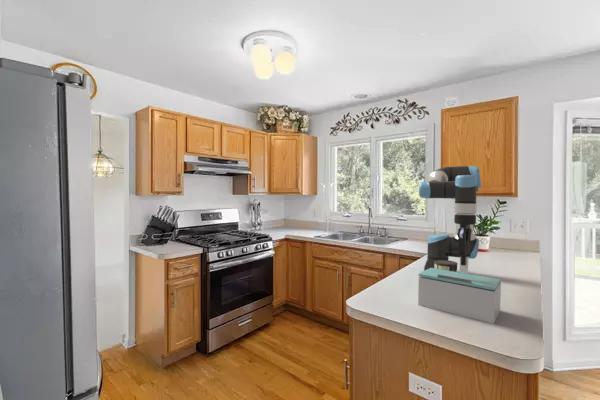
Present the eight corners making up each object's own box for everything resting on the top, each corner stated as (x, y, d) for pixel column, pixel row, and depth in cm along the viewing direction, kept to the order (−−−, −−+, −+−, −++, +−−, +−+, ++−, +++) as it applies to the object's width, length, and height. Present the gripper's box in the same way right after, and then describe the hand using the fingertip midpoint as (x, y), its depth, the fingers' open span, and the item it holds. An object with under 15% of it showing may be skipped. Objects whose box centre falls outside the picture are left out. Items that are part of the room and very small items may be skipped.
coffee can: (453, 287, 147) (453, 260, 147) (460, 294, 137) (460, 265, 137) (431, 286, 149) (431, 259, 149) (436, 293, 139) (437, 263, 139)
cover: (430, 269, 135) (430, 265, 135) (500, 281, 118) (500, 276, 118) (418, 276, 123) (418, 271, 123) (494, 290, 105) (494, 284, 105)
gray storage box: (430, 295, 136) (431, 270, 136) (500, 310, 118) (500, 282, 118) (418, 304, 124) (418, 277, 124) (493, 323, 106) (494, 291, 106)
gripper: (458, 212, 123) (457, 268, 124) (450, 214, 114) (449, 274, 114) (479, 213, 118) (477, 271, 119) (472, 215, 109) (470, 278, 109)
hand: (463, 272), depth 117 cm, fingers closed
